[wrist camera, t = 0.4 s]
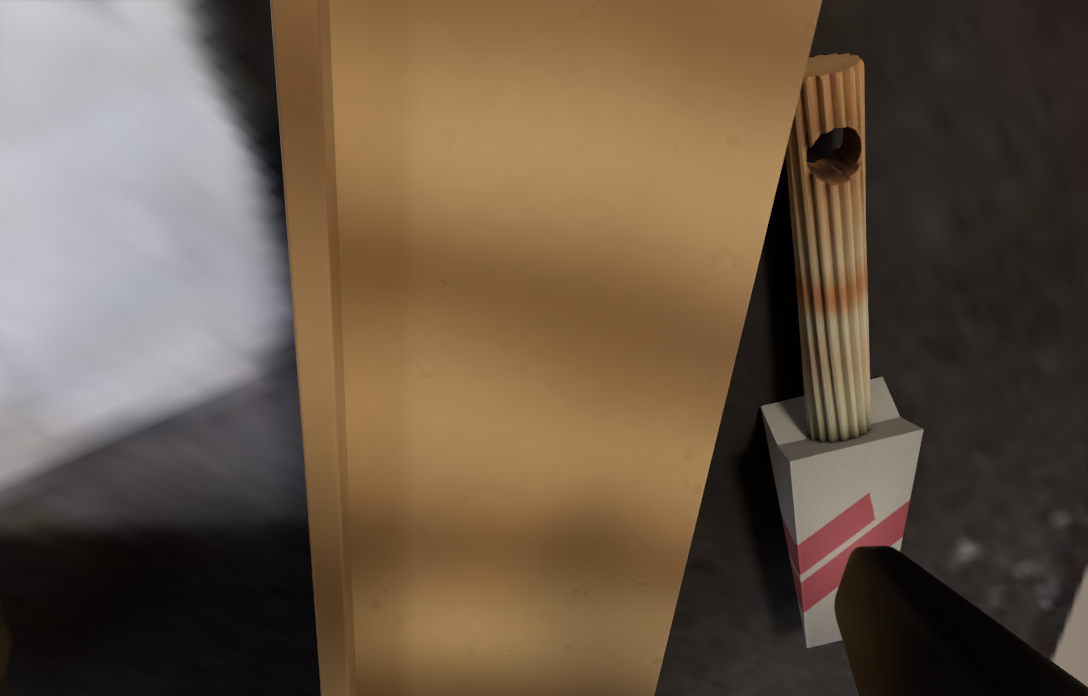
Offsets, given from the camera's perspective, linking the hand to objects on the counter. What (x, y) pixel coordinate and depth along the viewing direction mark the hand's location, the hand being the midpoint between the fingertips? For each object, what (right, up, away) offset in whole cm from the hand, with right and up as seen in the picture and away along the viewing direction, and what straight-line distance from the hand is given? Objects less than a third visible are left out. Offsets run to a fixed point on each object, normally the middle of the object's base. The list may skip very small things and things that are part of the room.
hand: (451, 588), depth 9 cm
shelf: (-1, +2, +16) cm, 16 cm away
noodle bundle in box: (+9, +2, +17) cm, 20 cm away
